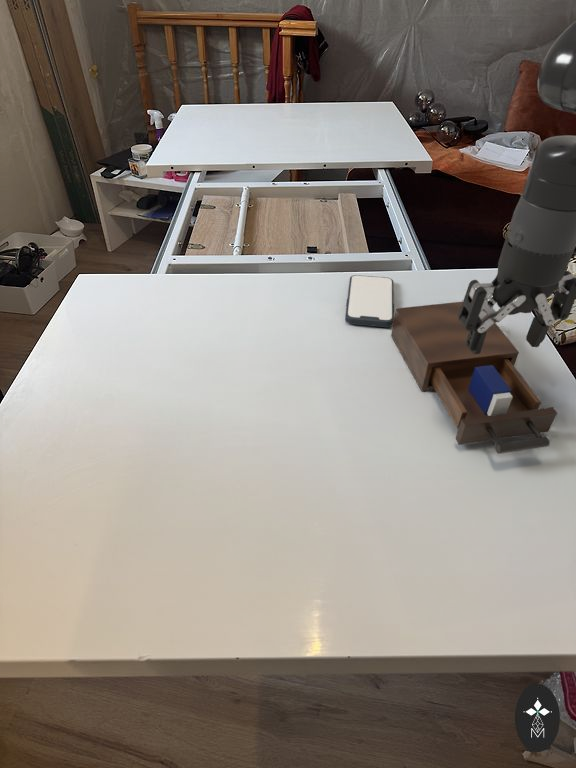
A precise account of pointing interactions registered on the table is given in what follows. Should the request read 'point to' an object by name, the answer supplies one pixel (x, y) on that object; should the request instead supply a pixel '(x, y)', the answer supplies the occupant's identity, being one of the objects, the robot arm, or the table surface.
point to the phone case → (370, 301)
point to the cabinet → (442, 340)
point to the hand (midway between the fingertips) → (502, 347)
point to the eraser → (490, 390)
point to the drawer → (481, 427)
